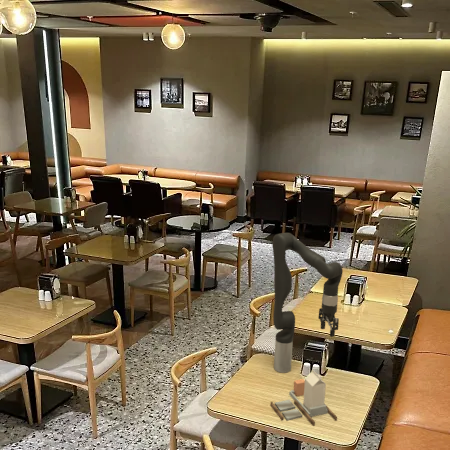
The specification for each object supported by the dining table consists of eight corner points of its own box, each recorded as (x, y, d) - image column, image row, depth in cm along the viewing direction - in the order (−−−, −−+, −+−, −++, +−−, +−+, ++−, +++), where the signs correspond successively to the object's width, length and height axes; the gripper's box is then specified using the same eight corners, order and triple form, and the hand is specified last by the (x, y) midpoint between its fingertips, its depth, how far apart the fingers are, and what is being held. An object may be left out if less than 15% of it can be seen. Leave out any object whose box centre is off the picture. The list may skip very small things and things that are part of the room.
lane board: (270, 405, 230) (270, 402, 229) (314, 395, 238) (314, 392, 238) (290, 431, 212) (290, 427, 211) (336, 420, 220) (337, 416, 219)
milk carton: (310, 415, 223) (313, 378, 219) (302, 406, 230) (305, 370, 225) (323, 412, 226) (326, 376, 221) (315, 403, 232) (318, 368, 227)
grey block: (288, 394, 239) (289, 381, 237) (306, 390, 243) (307, 378, 241) (308, 417, 221) (309, 404, 220) (327, 413, 225) (328, 399, 223)
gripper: (315, 297, 240) (313, 327, 244) (331, 308, 228) (328, 340, 231) (328, 296, 243) (326, 325, 247) (344, 307, 230) (341, 337, 234)
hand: (327, 332), depth 239 cm, fingers open, 8 cm apart
